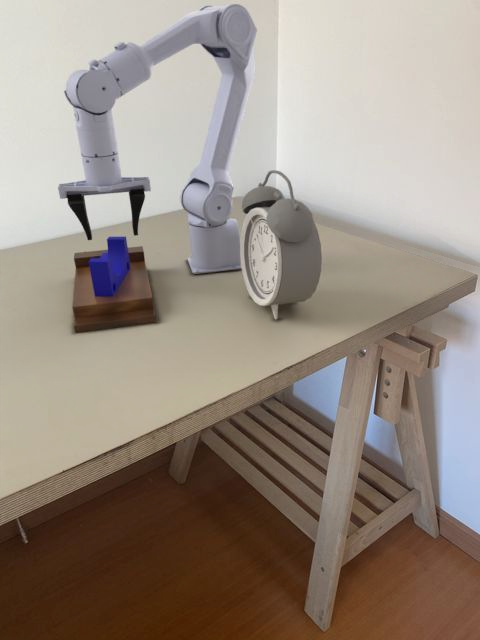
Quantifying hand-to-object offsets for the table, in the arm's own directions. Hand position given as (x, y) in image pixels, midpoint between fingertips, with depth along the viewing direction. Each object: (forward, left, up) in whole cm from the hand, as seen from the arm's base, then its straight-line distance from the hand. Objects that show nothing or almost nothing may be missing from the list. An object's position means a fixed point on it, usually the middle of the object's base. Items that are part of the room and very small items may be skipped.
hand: (113, 236), depth 96 cm
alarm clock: (-25, +15, -10) cm, 31 cm away
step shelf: (+1, +4, -10) cm, 11 cm away
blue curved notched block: (+2, +4, -7) cm, 8 cm away
